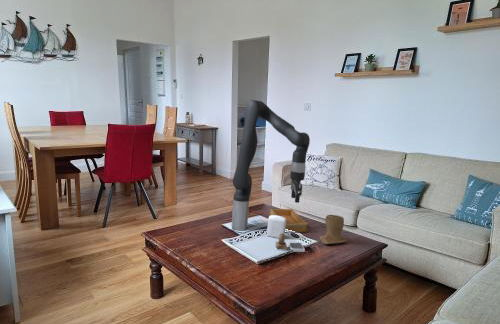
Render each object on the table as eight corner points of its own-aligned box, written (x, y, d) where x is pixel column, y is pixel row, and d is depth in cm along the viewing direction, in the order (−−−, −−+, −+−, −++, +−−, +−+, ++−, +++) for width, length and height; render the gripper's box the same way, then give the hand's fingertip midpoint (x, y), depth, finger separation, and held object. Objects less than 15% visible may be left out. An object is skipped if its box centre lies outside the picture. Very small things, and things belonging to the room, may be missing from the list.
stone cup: (335, 236, 202) (338, 211, 199) (349, 244, 191) (352, 218, 189) (314, 238, 196) (316, 213, 193) (326, 247, 185) (329, 220, 182)
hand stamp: (276, 250, 177) (278, 236, 176) (275, 246, 182) (276, 232, 180) (286, 250, 177) (287, 236, 176) (284, 246, 182) (286, 232, 181)
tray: (269, 216, 231) (270, 208, 230) (291, 216, 234) (292, 208, 233) (282, 233, 201) (283, 224, 200) (307, 233, 204) (308, 224, 204)
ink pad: (290, 251, 176) (291, 248, 176) (288, 245, 184) (288, 242, 183) (304, 252, 176) (304, 248, 176) (301, 245, 184) (301, 242, 184)
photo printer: (285, 237, 195) (287, 216, 193) (283, 239, 191) (285, 218, 189) (267, 233, 198) (269, 213, 196) (265, 236, 194) (267, 215, 192)
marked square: (305, 252, 176) (305, 251, 176) (301, 245, 184) (301, 245, 184) (320, 252, 177) (320, 252, 177) (316, 246, 185) (316, 245, 185)
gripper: (288, 167, 188) (285, 196, 191) (294, 172, 174) (291, 203, 177) (301, 168, 189) (298, 196, 191) (308, 173, 175) (305, 204, 177)
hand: (295, 200), depth 184 cm, fingers open, 8 cm apart
